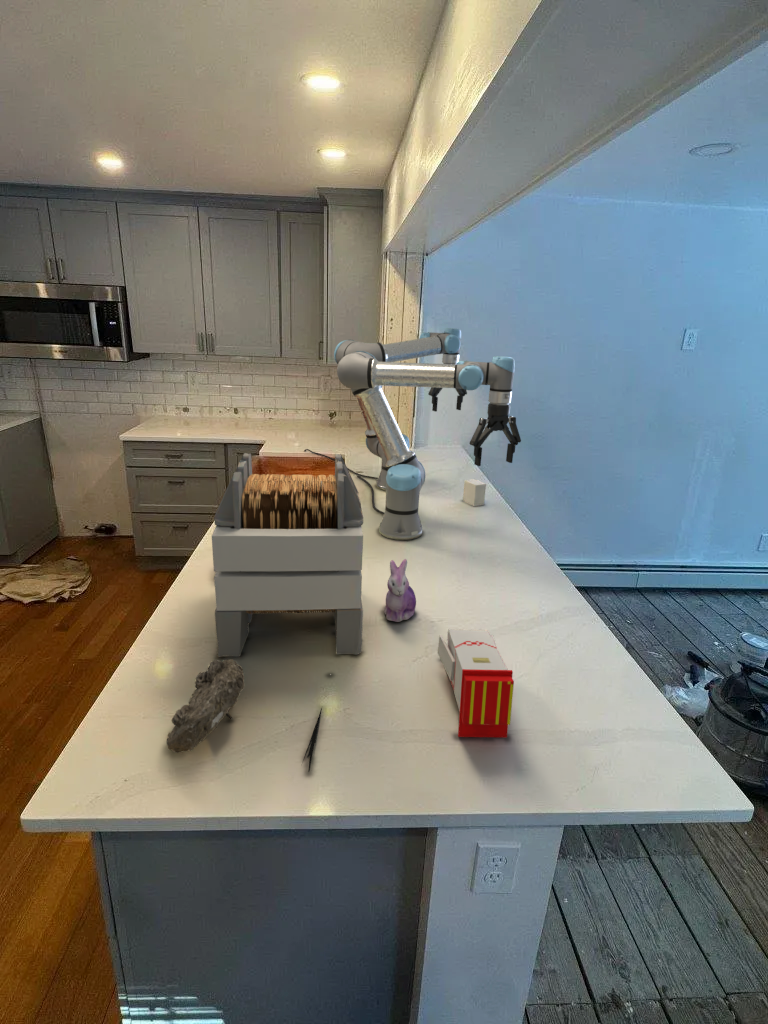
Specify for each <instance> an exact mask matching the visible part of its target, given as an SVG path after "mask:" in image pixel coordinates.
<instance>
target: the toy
mask: <svg viewBox="0 0 768 1024" xmlns="http://www.w3.org/2000/svg"><path fill="white" fill-rule="evenodd" d="M446 640H447V643H446V641H445V639H444V636H443V635H442V634H439V637H438V646H437V656H438V657H439V659H440V661H441V663H442V666H443V668H444V670H445V672H446V674H447V677H448V679H449V681H450V684H451V687H452V690H453V693H454V697H455V701H456V705H457V708H458V711H459V714H458V715H459V716H458V730H457V731H458V732H457V737H458V738H508V731H509V726H510V725H511V717H512V707H513V697H514V696H513V695H514V684H515V680H514V679H513V673H514V671H513V670H512V669H508V667H507V665H506V662H505V661H504V659H503V658H502V655H501V653H500V651H499V649H498V647H497V643H496V639H495V637H494V635H493V634H491V632H490V631H489V629H467V628H466V629H465V628H463V629H461V628H460V629H459V628H448V630H447V639H446Z"/></svg>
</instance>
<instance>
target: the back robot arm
mask: <svg viewBox="0 0 768 1024" xmlns="http://www.w3.org/2000/svg"><path fill="white" fill-rule="evenodd" d="M461 342H462V329H460V328H451V327H449V328H448V327H447V328H444V332H432V331H431V332H430V331H428V332H422V333H421V334H420V336H419V338H415V339H408V340H403V341H397V342H390V343H382V342H363V341H358V340H354V339H345V340H342V341H340V342H339V343H338V344H337V345H336V346H335V348H334V352H333V359H334V361H335V363H336V364H337V365H338V364H339V362H340V360H341V359H342V358H343V357H344V356H346V355H348V354H352V353H354V352H357V351H364V352H367V353H370V354H371V355H373V356H374V357H375V358H376V359H377V361H379V362H402V361H409V360H413V359H414V360H415V359H418V358H419V359H420V358H424V357H430V356H436V355H442V358H441V360H442V361H441V362H442V364H457V362H459V361H460V354H461V353H460V351H461ZM442 390H443V388H436V387H430V390H429V391H428V395H427V396H431V404H432V412H437V413H438V402H439V397H438V395H439V394H440V393H441V391H442ZM454 390H455V391H456V392H457V394H458V395H456V405H455V409H456V410H457V411H461V410H462V403H463V402H464V397H465V396H466V395H468V390H466V389H458V388H454ZM355 400H356V402H357V405H358V408H359V411H360V414H361V416H362V419H363V422H364V424H365V428H366V429H365V432H364V435H365V446H366V448H367V450H368V451H369V452H370V453H371V454H372V455H374V456H376V457H378V458H380V459H381V467H380V473H379V474H378V477H376V476H371V475H365V474H361V473H358V472H355V471H354V470H352V469H350V468H349V467H347V469H348V471H349V472H351V473H353V474H354V475H357V476H360V477H362V478H363V477H365V478H368V479H373V480H376V488H377V489H378V490H381V491H383V492H386V476H387V472H388V470H387V467H386V463H387V457H386V455H385V453H384V451H383V449H382V446H381V444H380V442H379V440H378V438H377V435H376V433H375V431H374V429H373V427H372V424H371V422H370V420H369V418H368V416H367V413H366V411H365V409H364V407H363V405H362V402H361V400H360V399H359V398H357V397H355ZM402 436H403V438H404V440H405V442H406V445H407V447H408V449H409V450H410V447H411V446H410V438H409V437H408V435H406V434H404V433H402ZM306 451H308V452H309V453H311V454H314V455H318V456H322V457H324V458H327V459H330V460H332V461H334V462H335V458H334V457H331V456H329V455H325V454H323V453H318V452H316V451H313V450H311V449H310V448H309V449H308V448H305V449H304V450H303V452H306Z"/></svg>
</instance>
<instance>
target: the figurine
mask: <svg viewBox="0 0 768 1024" xmlns="http://www.w3.org/2000/svg"><path fill="white" fill-rule="evenodd" d="M407 567H408V559H406V558H404V559H403V560H402V561H401V563H400V565H399V566H398V565H397V563H396V562H395V561H394V560H393V559H391V560H390V561H389V570H390V576H389V578H388V579H387V589H388V591H387V592H386V594H385V595H386V596H385V607H384V615H385V616H386V620H387V621H391V622H395V623H400V622H402V621H406V620H409V619H410V618H411V617H413V616H414V615H415V610H416V606H417V597H416V593H415V591H414V590H413V587H411V586H410V582H409V579H408V577H407V574H406V571H407Z"/></svg>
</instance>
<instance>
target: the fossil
mask: <svg viewBox="0 0 768 1024" xmlns="http://www.w3.org/2000/svg"><path fill="white" fill-rule="evenodd" d="M243 670H244V669H243V667H242V665H240V664H237V662H236V661H235V660H234V659H232V658H231V659H227V658H226V659H224V660H223V661H222V660H217V659H212V660H211V661H210V663H209V665H208V666H207V671H201V672H199V673H198V674H197V675H196V676H195V680H194V684H195V685H194V687H195V689H194V690H193V693H192V694H191V697H190V698H189V700H188V704H184V705H182V706H181V707H180V709H177V710H176V711H175V713H174V715H173V716H172V718H171V723H172V724H173V727H172V730H171V731H170V732H168V734H167V738H166V741H167V742H166V745H167V749H168V750H169V751H173V752H174V753H176V754H178V753H182V752H188V751H189V752H192V751H193V750H195V748H196V747H197V746H199V744H200V743H201V742H203V741H204V740H205V739H206V738H207V737H208V736H209V735H210V734H211V733H212V732H214V730H215V729H217V727H218V726H219V724H220V722H221V721H222V720H223V719H224V718H225V716H226V717H227V719H229V720H233V717H232V715H230V714H229V710H230V709H231V708H234V706H235V704H236V703H237V702H238V699H239V697H240V695H241V693H242V691H243V690H245V689H244V688H245V675H244V671H243Z"/></svg>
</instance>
